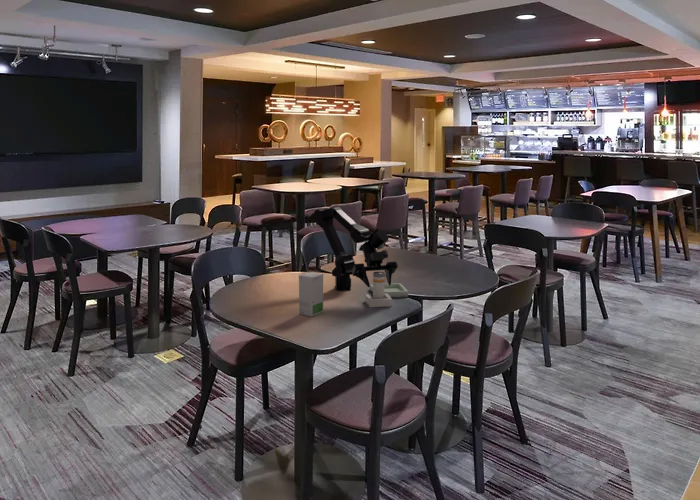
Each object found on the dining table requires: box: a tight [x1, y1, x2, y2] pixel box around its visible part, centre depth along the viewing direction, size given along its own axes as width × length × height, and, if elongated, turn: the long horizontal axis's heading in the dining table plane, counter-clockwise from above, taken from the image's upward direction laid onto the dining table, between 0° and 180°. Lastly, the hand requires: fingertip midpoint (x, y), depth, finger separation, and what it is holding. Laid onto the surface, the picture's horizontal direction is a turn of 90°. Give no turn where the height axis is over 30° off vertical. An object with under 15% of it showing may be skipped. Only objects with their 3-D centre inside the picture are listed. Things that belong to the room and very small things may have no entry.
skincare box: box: [298, 271, 324, 317], centre depth 225 cm, size 8×7×16 cm
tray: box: [369, 282, 409, 298], centre depth 256 cm, size 14×14×2 cm
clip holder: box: [364, 293, 393, 308], centre depth 240 cm, size 9×8×3 cm
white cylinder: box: [372, 271, 386, 299], centre depth 239 cm, size 5×5×13 cm
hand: (379, 286), depth 238 cm, fingers open, 9 cm apart
